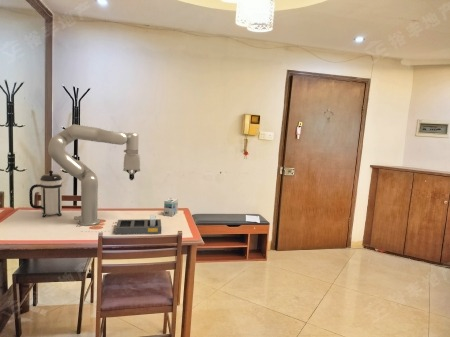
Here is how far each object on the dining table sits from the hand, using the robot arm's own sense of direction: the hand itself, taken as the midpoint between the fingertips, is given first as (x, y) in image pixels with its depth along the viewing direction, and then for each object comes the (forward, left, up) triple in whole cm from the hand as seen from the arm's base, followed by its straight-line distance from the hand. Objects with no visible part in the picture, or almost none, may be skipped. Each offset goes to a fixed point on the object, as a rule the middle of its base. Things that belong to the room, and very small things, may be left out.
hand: (131, 179), depth 214 cm
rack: (+6, -20, -27) cm, 34 cm away
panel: (+14, -20, -26) cm, 36 cm away
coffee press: (-53, +13, -27) cm, 61 cm away
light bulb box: (+27, +13, -27) cm, 41 cm away
